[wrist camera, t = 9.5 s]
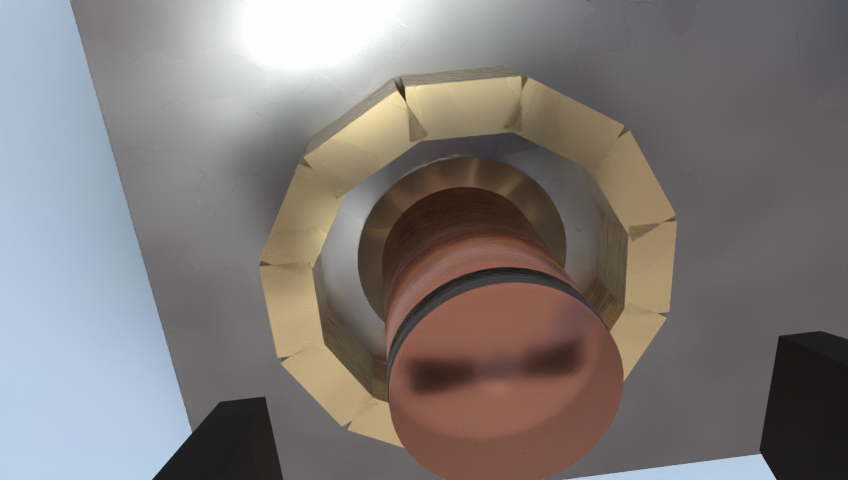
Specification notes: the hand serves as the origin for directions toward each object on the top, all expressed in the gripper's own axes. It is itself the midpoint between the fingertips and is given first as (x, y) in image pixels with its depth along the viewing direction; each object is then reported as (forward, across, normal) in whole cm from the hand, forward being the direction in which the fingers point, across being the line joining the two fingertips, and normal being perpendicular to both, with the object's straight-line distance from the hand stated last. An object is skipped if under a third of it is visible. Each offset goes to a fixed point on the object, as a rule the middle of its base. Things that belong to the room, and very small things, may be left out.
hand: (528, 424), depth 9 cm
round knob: (+6, 0, 0) cm, 6 cm away
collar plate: (+7, -2, 0) cm, 7 cm away
